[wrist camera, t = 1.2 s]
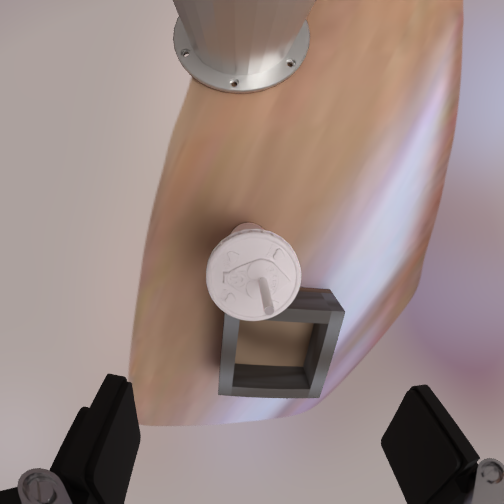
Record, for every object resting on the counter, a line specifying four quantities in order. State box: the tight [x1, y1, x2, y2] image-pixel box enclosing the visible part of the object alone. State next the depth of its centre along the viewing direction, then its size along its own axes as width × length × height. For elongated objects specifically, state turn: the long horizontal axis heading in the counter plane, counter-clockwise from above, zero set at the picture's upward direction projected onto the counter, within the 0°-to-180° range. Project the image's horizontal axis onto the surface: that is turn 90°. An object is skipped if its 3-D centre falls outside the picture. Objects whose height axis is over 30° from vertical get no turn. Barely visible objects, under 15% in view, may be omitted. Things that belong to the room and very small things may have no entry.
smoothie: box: [206, 223, 301, 321], centre depth 23 cm, size 6×6×14 cm
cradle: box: [218, 287, 345, 398], centre depth 30 cm, size 11×11×5 cm
